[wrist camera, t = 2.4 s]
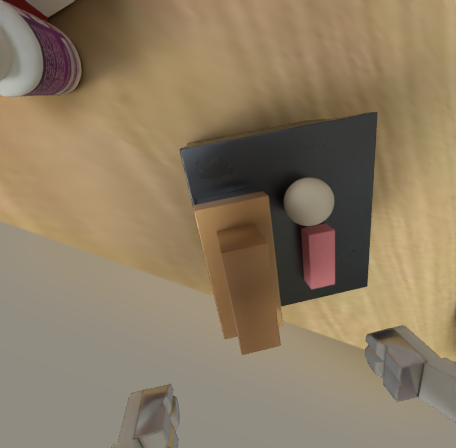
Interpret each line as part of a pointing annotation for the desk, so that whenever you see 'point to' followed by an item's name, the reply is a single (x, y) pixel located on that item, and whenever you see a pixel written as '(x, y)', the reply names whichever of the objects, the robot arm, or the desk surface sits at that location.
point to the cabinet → (291, 172)
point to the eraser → (318, 255)
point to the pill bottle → (35, 56)
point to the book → (40, 6)
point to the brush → (242, 266)
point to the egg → (308, 201)
